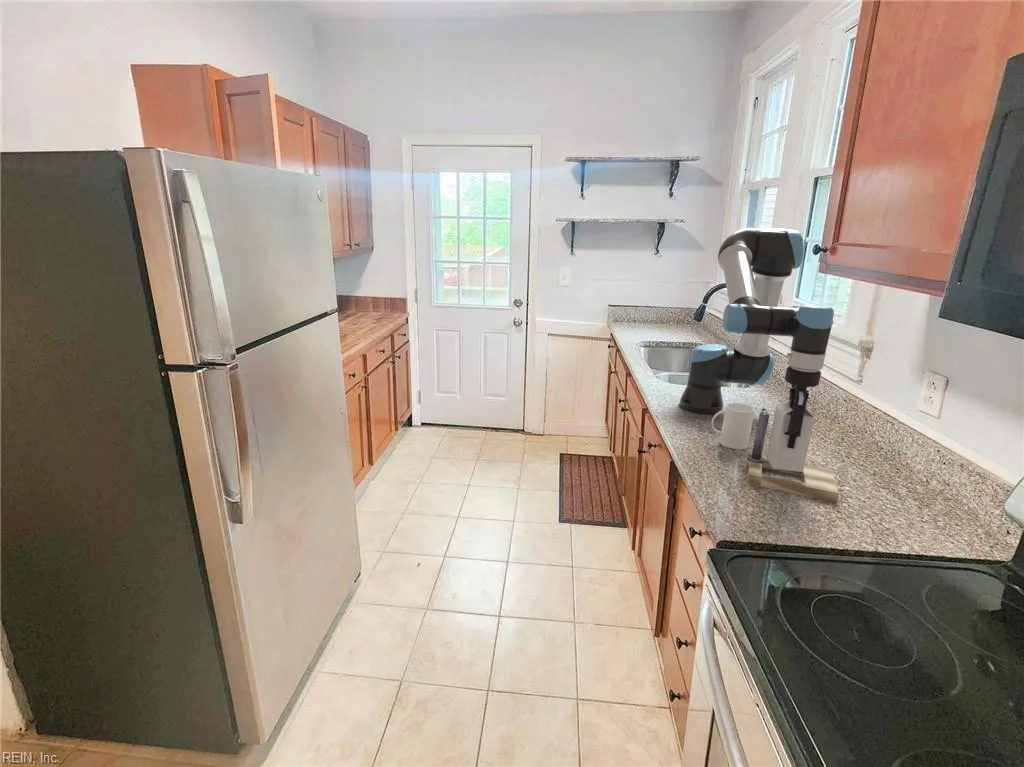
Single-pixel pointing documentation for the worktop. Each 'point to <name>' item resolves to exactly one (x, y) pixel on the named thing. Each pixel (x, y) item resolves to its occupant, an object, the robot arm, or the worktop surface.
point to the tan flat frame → (812, 484)
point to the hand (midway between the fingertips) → (786, 452)
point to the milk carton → (779, 437)
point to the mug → (735, 425)
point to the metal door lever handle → (759, 438)
